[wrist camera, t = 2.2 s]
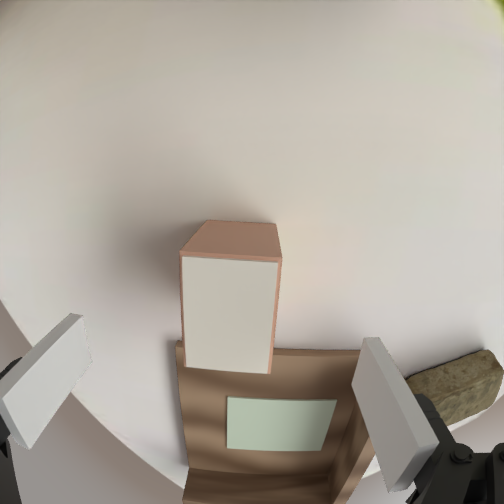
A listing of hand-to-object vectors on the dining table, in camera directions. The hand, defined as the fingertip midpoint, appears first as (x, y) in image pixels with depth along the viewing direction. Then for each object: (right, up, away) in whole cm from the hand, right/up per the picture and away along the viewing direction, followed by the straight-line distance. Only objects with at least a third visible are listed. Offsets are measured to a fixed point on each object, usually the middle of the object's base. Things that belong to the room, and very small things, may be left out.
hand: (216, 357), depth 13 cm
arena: (+4, -13, +15) cm, 20 cm away
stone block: (+22, -9, +14) cm, 27 cm away
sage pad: (+4, -12, +15) cm, 20 cm away
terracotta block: (+1, +3, +10) cm, 11 cm away
